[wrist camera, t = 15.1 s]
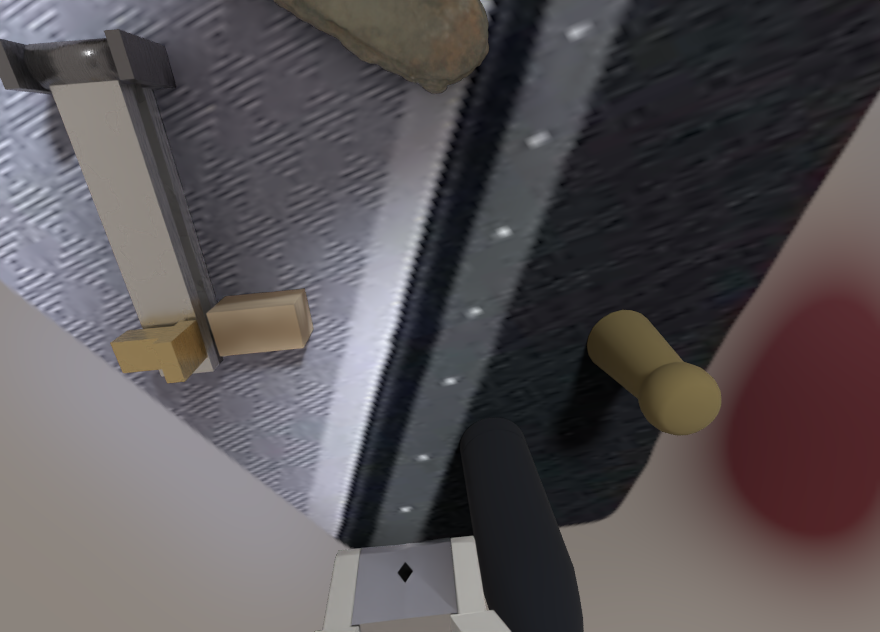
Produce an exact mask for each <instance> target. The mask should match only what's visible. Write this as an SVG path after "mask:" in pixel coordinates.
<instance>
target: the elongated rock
mask: <svg viewBox="0 0 880 632" xmlns="http://www.w3.org/2000/svg"><path fill="white" fill-rule="evenodd" d="M274 2H275V3H277V4H278V5H279V6H280V7H282V8H284V9H286V10H287V11H289V12H291V13H293V14H294V15H295V16H296V17H297V18H299V19H301V20H302V21H304V22H307V23H309V24H311V25H312V26H314V27H315V28H316V29H318V30H320V31H323V32H325V33H327V34H329V35H331V36H333V37H335V38H337V39H338V40H340V41H341V43H342V45H343V46H345V47H346V48H347V50H349V51H351V52H352V53H353V54H355V55H356V56H357V57H358V58H359V59H361V60H362V61H365V62H367V63H370V64H377V65H379V66H380V67H382V68H383V69H384V70H387V71H389V72H392V73H394V74H398V75H400V76H402V77H403V78H405V79H406V80H407V81H409V82H413V83H419V84H420V85H421V86H422V87H423V88H424V89H425V90H427V91H428V92H430V93H432V94H438V93H442V92H444V91H445V90H446V89H447V86H448V85H451V84H454V83H456V82H458V81H461V80H462V79H463V78H466V77H467V76H469V74H471V73H472V72H473V71H474V70H475V68H476V67H477V66H480V65H481V63H482V61H483V60H484V58H485V56H486V55H487V54H488V52H489V45H488V20H487V15H486V12H485V9H484V7H483V5H482V3H481V2H480V0H274Z"/></svg>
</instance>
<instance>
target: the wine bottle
mask: <svg viewBox="0 0 880 632" xmlns="http://www.w3.org/2000/svg"><path fill="white" fill-rule="evenodd" d="M460 453H461V459H462V465H463V471H464V478H465V484H466V490H467V496H468V503H469V509H470V515H471V521H472V527H473V534H474V539H475V544H476V550H477V556H478V562H479V568H480V574H481V581H482V587H483V592H484V596H485V598H486V602H487V605H488V608H489V610H494V611H495V612H496V614H497V615H498V616H499V617H500V618H501V620H502V621H503V622H504V623H505V624H506V626H507V627H508V628H509V629H510V630H511V632H583V631H584V630H583V616H582V609H581V602H580V596H579V591H578V586H577V581H576V577H575V571H574V567H573V564H572V562H571V559H570V556H569V554H568V551H567V549H566V546H565V543H564V541H563V538H562V535H561V533H560V530H559V527H558V525H557V522H556V519H555V517H554V514H553V512H552V509H551V506H550V504H549V501H548V498H547V496H546V493H545V490H544V488H543V485H542V483H541V480H540V477H539V475H538V472H537V469H536V467H535V464H534V461H533V459H532V456H531V454H530V451H529V448H528V446H527V443H526V440H525V438H524V435H523V433H522V431H521V430H520V428H519V427H518V426H517V425H516V424H514V423H513V422H512V421H510V420H507V419H503V418H487V419H483V420H480V421H478V422H476V423H474V424H473V425H471V426H470V427H469V428H468V429H467V430H466V431H465V432H464V434H463V436H462V438H461V442H460Z"/></svg>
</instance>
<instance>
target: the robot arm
mask: <svg viewBox="0 0 880 632" xmlns="http://www.w3.org/2000/svg"><path fill="white" fill-rule="evenodd" d="M451 548H452V549H451ZM452 558H453V559H452ZM453 568H454V569H453ZM315 632H511V630H510V629H509V628H508V627H507V626H506V624H505V623H504V622H503V621H502V620H501V618H500V617H499V616H498V615H497V614H496V612H495V611H494V610H486V605H485V599H484V593H483V587H482V581H481V574H480V568H479V562H478V556H477V550H476V544H475V539H474V537H473V536H465V537H457V538H451V541H450V538H444V539H436V540H429V541H421V542H413V543H406V544H405V545H393V546H381V547H369V548H359V549H349V550H339V551H338V553H337V555H336V557H335V561H334V567H333V573H332V578H331V584H330V590H329V595H328V601H327V607H326V612H325V617H324V623H323V629H322V630H319V631H315Z"/></svg>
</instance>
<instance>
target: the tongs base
mask: <svg viewBox="0 0 880 632" xmlns="http://www.w3.org/2000/svg"><path fill="white" fill-rule="evenodd" d="M104 32H105V35H106V38H107V41H108V44H109V47H110V50H111V53H112V57H113V60H114V63H115V66H116V69H117V72H118V75H119V78H120V80H123V81H128V82H134V83H135V84H131V87H132V90H133V93H134V97H135V100H136V103H137V106H138V109H139V112H140V115H141V119H142V122H143V125H144V128H145V131H146V134H147V137H148V140H149V144H150V147H151V150H152V153H153V156H154V159H155V162H156V165H157V169H158V172H159V175H160V178H161V181H162V184H163V187H164V191H165V194H166V197H167V200H168V203H169V206H170V209H171V212H172V216H173V219H174V222H175V225H176V228H177V231H178V234H179V237H180V241H181V244H182V247H183V250H184V253H185V256H186V259H187V262H188V266H189V269H190V272H191V275H192V278H193V281H194V284H195V288H196V291H197V294H198V297H199V300H200V303H201V306H202V309H203V313H204V316H205V319H206V322H207V325H208V328H209V331H210V334H211V338H214V336H213V333H212V330H211V326H210V323H209V320H208V317H207V314H206V313H207V312H208V311H209V310H211V309H212V308H213V307H214V306H215V305H216V304H217V300H216V297H215V294H214V290H213V287H212V284H211V281H210V277H209V274H208V271H207V267H206V264H205V261H204V258H203V254H202V251H201V248H200V244H199V241H198V238H197V235H196V231H195V228H194V225H193V221H192V218H191V215H190V212H189V208H188V205H187V202H186V198H185V195H184V192H183V189H182V185H181V182H180V179H179V176H178V172H177V169H176V166H175V162H174V159H173V156H172V153H171V149H170V146H169V143H168V139H167V136H166V133H165V130H164V126H163V123H162V120H161V116H160V113H159V110H158V107H157V103H156V100H155V97H154V94H153V90H152V89H161V88H173V87H176V85H175V81H174V78H173V74H172V71H171V67H170V63H169V60H168V56H167V53H166V49H165V46H164V45H161V44H158V43H155V42H152V41H150V40H147V39H144V38H141V37H139V36H136V35H133V34H130V33H128V32H125V31H122V30H119V29H116V30H104ZM26 46H27V45H24V44H20V43H16V42H12V41H7V40H3V39H0V78H1V80H2V82H3V85H4V87H5V89H7V90H16V91H25V92H34V93H43V94H52V92H51V90H48V89H46V88H44V87H42V86H41V85H40V84H39V83H38V82H37V81H36V80H35V79H34V78H33V76H32V75H31V73H30V72H29V70H28V68H27V66H26V63H25V60H24V48H25V47H26ZM52 95H53V94H52ZM222 357H225V356H222Z"/></svg>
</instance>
